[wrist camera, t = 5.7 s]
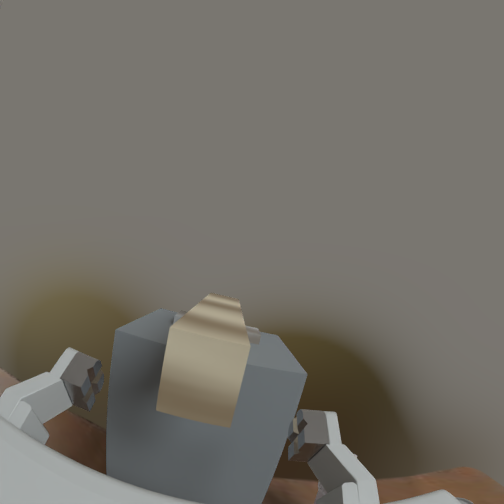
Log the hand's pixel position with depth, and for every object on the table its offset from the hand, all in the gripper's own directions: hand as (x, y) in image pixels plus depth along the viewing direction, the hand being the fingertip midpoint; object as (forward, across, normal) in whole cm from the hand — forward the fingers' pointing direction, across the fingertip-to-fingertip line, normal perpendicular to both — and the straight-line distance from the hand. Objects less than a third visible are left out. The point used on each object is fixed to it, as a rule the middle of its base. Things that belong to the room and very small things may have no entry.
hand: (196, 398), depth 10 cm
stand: (-3, 0, +28) cm, 29 cm away
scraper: (+6, 0, +3) cm, 7 cm away
